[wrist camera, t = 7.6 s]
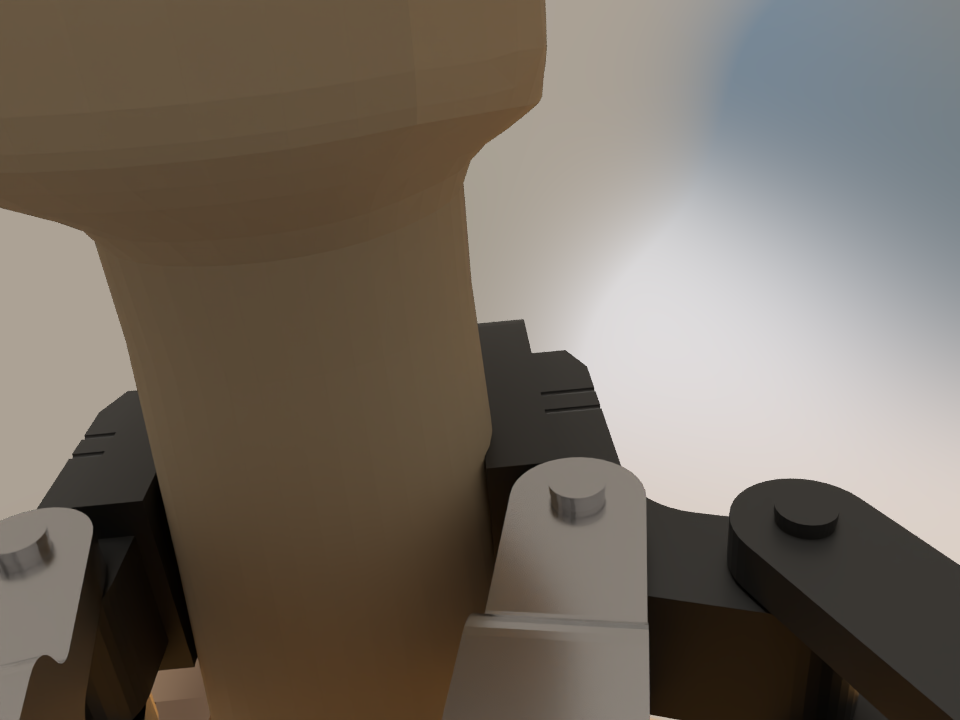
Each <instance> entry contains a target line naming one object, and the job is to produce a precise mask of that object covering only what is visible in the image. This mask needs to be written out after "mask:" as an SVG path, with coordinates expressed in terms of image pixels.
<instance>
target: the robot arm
mask: <svg viewBox="0 0 960 720" xmlns="http://www.w3.org/2000/svg"><path fill="white" fill-rule="evenodd" d="M478 331H479V338H480V345H481V352H482V359H483V366H484V373H485V380H486V387H487V394H488V401H489V408H490V415H491V423H492V436H491V441H490V446H489V448H488V450H487V452H486V455H485V462H486V473H487V483H488V494H489V505H490V516H491V527H492V537H493V548H494V559H495V568H494V573H493V577H492V582H491V587H490V591H489V596H488V601H487V605H486V610H485V614H482V613H471V614H470V615H469V616H468V618H467V620H466V623H465V626H464V629H463V633H462V637H461V641H460V645H459V649H458V654H457V658H456V662H455V666H454V671H453V675H452V679H451V683H450V687H449V692H448V696H447V700H446V704H445V708H444V713H443V717H442V720H650V715H656V716H661V717H667V718H672V719H678V720H960V565H959V564H957V563H956V562H954V561H952V560H951V559H950V558H948V557H947V556H945V555H944V554H942V553H941V552H939V551H938V550H936V549H935V548H933V547H932V546H930V545H929V544H927V543H926V542H924V541H923V540H921V539H920V538H918V537H917V536H915V535H914V534H912V533H911V532H909V531H908V530H906V529H905V528H903V527H902V526H900V525H899V524H898V523H896V522H895V521H893V520H892V519H890V518H888V517H887V516H886V515H884V514H882V513H881V512H880V511H878V510H877V509H875V508H873V507H872V506H871V505H869V504H868V503H866V502H865V501H863V500H862V499H860V498H859V497H857V496H855V495H853V494H852V493H850V492H848V491H845V490H843V489H841V488H838V487H836V486H833V485H830V484H827V483H822V482H817V481H813V480H805V479H776V480H771V481H765V482H762V483H759V484H756V485H753V486H751V487H749V488H747V489H746V490H744V491H743V492H741V493H740V494H739V495H738V496H737V497H736V498H735V500H734V501H733V503H732V505H731V508H730V513H729V517H728V516H719V515H710V514H702V513H694V512H687V511H681V510H677V509H674V508H670V507H667V506H664V505H661V504H659V503H656V502H654V501H652V500H650V499H648V498H647V497H646V493H645V489H644V487H643V485H642V483H641V482H640V480H639V479H638V478H637V477H636V476H635V475H634V474H633V473H632V472H630V471H629V470H627V469H625V468H624V467H622V466H621V465H620V462H619V459H618V456H617V453H616V450H615V447H614V445H613V441H612V438H611V435H610V432H609V429H608V427H607V424H606V421H605V418H604V415H603V412H602V409H600V404H599V400H598V398H597V395H596V392H595V391H594V386H593V383H592V380H591V377H590V374H589V371H588V369H587V366H585V365H584V364H583V363H581V362H580V361H579V360H578V359H576V358H575V357H573V356H572V355H571V354H570V353H568V352H567V351H566V350H564V351H553V352H542V353H531V349H530V344H529V340H528V336H527V332H526V327H525V323H524V320H523V319H522V320H511V321H501V322H491V323H480V324H478ZM72 455H73V459H69V460H68V462H67V463H66V465H65V467H64V468H63V470H62V471H61V472H60V474H59V476H58V477H57V479H56V480H55V482H54V483H53V485H52V486H51V488H50V489H49V491H48V492H47V494H46V496H45V497H44V499H43V500H42V502H41V503H40V505H39V506H38V508H37V509H36V510H31V511H27V512H23V513H20V514H17V515H14V516H11V517H8V518H6V519H4V520H1V521H0V720H158V711H157V708H156V705H155V702H154V699H153V696H152V693H151V690H152V687H153V685H154V682H155V679H156V676H157V673H158V671H161V670H171V669H181V668H191V667H195V664H196V661H197V657H198V656H197V651H196V647H195V642H194V638H193V633H192V628H191V624H190V619H189V614H188V610H187V605H186V601H185V596H184V591H183V587H182V582H181V578H180V573H179V568H178V564H177V559H176V555H175V551H174V546H173V542H172V538H171V534H170V529H169V525H168V521H167V516H166V512H165V508H164V503H163V499H162V495H161V490H160V486H159V482H158V477H157V473H156V469H155V464H154V460H153V456H152V451H151V447H150V443H149V438H148V434H147V430H146V425H145V421H144V417H143V413H142V408H141V404H140V400H139V395H138V391H128V392H126V393H125V394H123V395H122V396H121V397H119V398H118V399H117V400H115V401H114V402H113V403H111V404H110V405H109V406H107V407H106V408H105V409H103V410H102V411H101V412H99V414H98V415H97V417H96V418H95V420H94V422H93V423H92V425H91V426H90V428H89V429H88V431H87V432H86V434H85V440H81V442H80V443H79V445H78V446H77V448H76V449H75V451H74V452H73V454H72Z"/></svg>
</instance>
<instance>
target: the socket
mask: <svg viewBox="0 0 960 720" xmlns="http://www.w3.org/2000/svg"><path fill="white" fill-rule="evenodd" d="M151 693H152V696H153V699H154V702H155V705H156V708H157V711H158V720H211V716H210V711H209V707H208V702H207V697H206V693H205V688H204V684H203V679H202V674H201V670H200V665H199V661H198V657H197V661H196V664H195V667H191V668H181V669H171V670H161V671H158V673H157V676H156V679H155V682H154V685H153V687H152V690H151Z"/></svg>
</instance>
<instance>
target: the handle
mask: <svg viewBox="0 0 960 720" xmlns="http://www.w3.org/2000/svg"><path fill="white" fill-rule="evenodd" d="M546 51H547V41H546V8H545V0H0V208H3V209H7V210H12V211H15V212H20V213H23V214H27V215H31V216H35V217H39V218H43V219H47V220H51V221H55V222H58V223H61V224H64V225H67V226H70V227H73V228H75V229H78V230H81V231H84V232H85V233H86V234H87V235H88V236H89V237H90V238H91V239H92V240H94V241H95V244H96V247H97V251H98V254H99V257H100V260H101V263H102V267H103V270H104V273H105V276H106V279H107V283H108V286H109V289H110V292H111V295H112V298H113V302H114V305H115V308H116V311H117V314H118V318H119V321H120V324H121V327H122V330H123V334H124V337H125V340H126V343H127V348H128V352H129V356H130V361H131V365H132V369H133V374H134V378H135V382H136V386H137V391H138V395H139V400H140V404H141V408H142V413H143V417H144V421H145V425H146V430H147V434H148V438H149V443H150V447H151V451H152V456H153V460H154V464H155V469H156V473H157V477H158V482H159V486H160V490H161V495H162V499H163V503H164V508H165V512H166V516H167V521H168V525H169V529H170V534H171V538H172V542H173V546H174V551H175V555H176V559H177V564H178V568H179V573H180V578H181V582H182V587H183V591H184V596H185V601H186V605H187V610H188V614H189V619H190V624H191V628H192V633H193V638H194V642H195V647H196V651H197V656H198V661H199V665H200V670H201V674H202V679H203V684H204V688H205V693H206V697H207V702H208V707H209V711H210V716H211V720H442V717H443V713H444V708H445V704H446V700H447V696H448V692H449V687H450V683H451V679H452V675H453V671H454V666H455V662H456V658H457V654H458V649H459V645H460V641H461V637H462V633H463V629H464V626H465V623H466V620H467V618H468V616H469V615H470V614H471V613H482V614H485V610H486V605H487V601H488V596H489V591H490V587H491V582H492V577H493V573H494V568H495V559H494V548H493V537H492V527H491V516H490V505H489V494H488V483H487V473H486V462H485V455H486V452H487V450H488V448H489V446H490V441H491V436H492V423H491V415H490V408H489V401H488V394H487V387H486V380H485V373H484V366H483V359H482V352H481V345H480V338H479V331H478V324H477V317H476V310H475V304H474V297H473V290H472V283H471V272H470V259H469V247H468V234H467V222H466V210H465V197H464V186H463V182H464V179H465V176H466V173H467V170H468V167H469V164H470V161H471V159H472V158H473V157H474V156H475V155H476V154H477V153H478V152H479V151H480V150H481V149H482V147H483V146H484V145H485V144H486V143H487V142H489V141H491V140H492V139H493V138H495V137H496V136H498V135H499V134H501V133H502V132H504V131H505V130H506V129H508V128H509V127H510V126H512V125H513V124H514V123H515V122H516V121H518V120H519V119H520V118H522V117H523V116H524V115H525V114H527V112H529V111H530V110H531V109H532V108H534V107H535V106H536V105H537V104H538V103H539V101H540V99H541V97H542V90H543V78H544V70H545V62H546Z"/></svg>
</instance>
